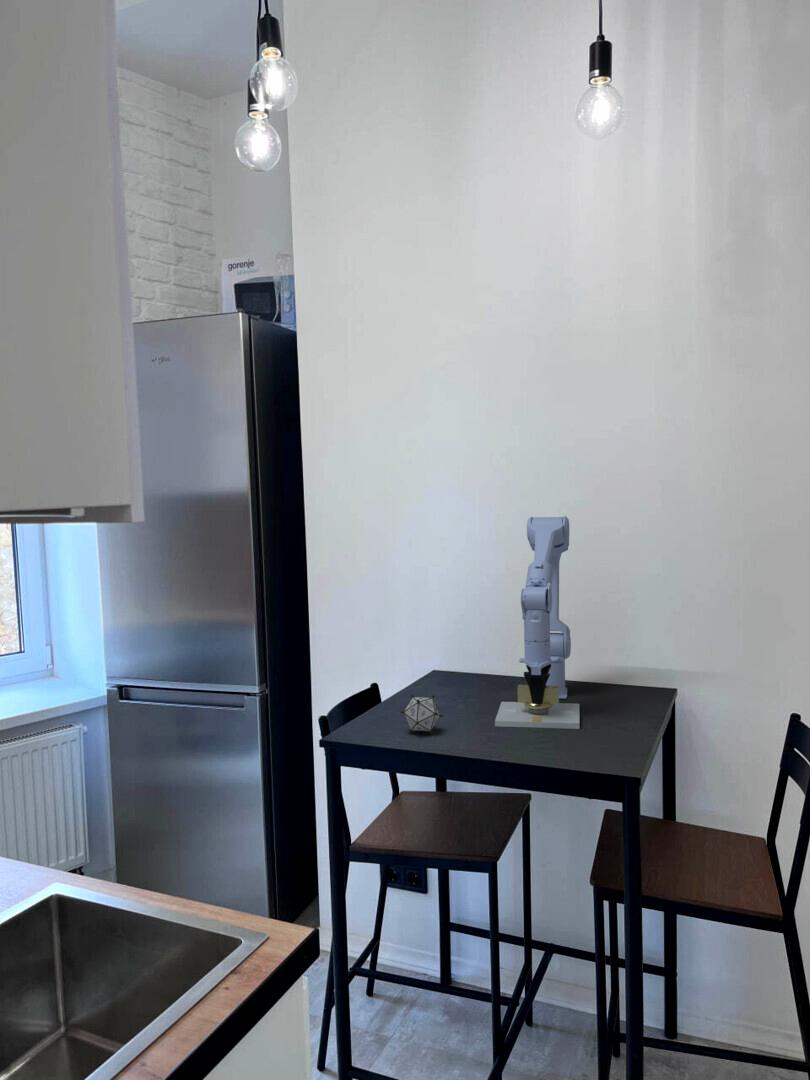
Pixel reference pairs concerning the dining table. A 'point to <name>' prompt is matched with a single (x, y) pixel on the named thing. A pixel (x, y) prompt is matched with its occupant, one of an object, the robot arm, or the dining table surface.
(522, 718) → the lock plate
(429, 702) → the game die
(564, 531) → the robot arm
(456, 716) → the dining table surface
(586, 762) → the dining table surface
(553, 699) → the door handle
